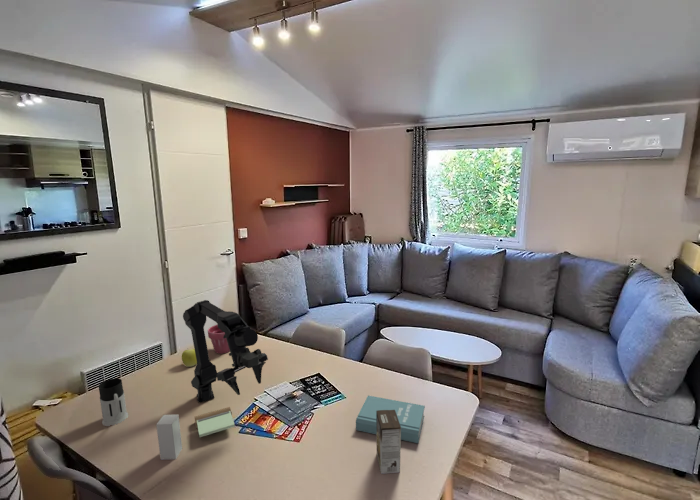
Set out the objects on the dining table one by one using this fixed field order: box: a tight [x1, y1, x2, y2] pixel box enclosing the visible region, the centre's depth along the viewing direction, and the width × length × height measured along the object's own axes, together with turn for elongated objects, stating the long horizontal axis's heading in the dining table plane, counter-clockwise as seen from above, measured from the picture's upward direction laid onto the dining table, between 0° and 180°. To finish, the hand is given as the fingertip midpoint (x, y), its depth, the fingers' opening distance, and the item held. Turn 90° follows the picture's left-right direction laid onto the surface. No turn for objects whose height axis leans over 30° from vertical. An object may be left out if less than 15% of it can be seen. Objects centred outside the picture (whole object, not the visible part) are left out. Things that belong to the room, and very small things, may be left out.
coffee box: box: [376, 410, 402, 475], centre depth 117 cm, size 9×6×16 cm
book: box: [355, 394, 426, 444], centre depth 137 cm, size 23×16×5 cm
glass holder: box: [98, 377, 129, 427], centre depth 140 cm, size 9×14×15 cm, turn 44°
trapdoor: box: [197, 411, 236, 438], centre depth 134 cm, size 9×12×1 cm
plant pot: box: [207, 324, 230, 355], centre depth 199 cm, size 14×14×13 cm
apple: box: [181, 348, 197, 368], centre depth 184 cm, size 8×8×10 cm
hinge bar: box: [194, 406, 233, 429], centre depth 141 cm, size 4×13×2 cm, turn 118°
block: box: [155, 414, 183, 461], centre depth 123 cm, size 5×5×13 cm
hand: (249, 389), depth 134 cm, fingers open, 9 cm apart
